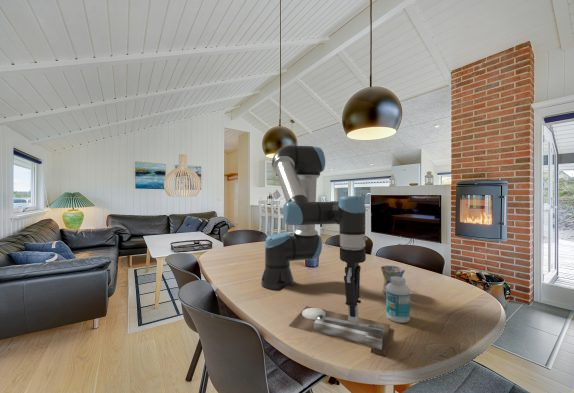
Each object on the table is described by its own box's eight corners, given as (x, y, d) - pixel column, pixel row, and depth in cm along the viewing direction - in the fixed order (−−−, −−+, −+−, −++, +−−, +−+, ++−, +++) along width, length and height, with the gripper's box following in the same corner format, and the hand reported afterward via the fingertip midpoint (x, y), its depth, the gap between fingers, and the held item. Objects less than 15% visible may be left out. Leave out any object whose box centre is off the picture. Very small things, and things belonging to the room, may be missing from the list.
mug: (406, 299, 97) (406, 273, 97) (381, 296, 100) (381, 270, 100) (402, 288, 108) (402, 264, 108) (380, 286, 111) (380, 263, 111)
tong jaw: (315, 325, 74) (315, 317, 74) (317, 321, 77) (317, 313, 77) (383, 338, 67) (383, 329, 67) (383, 333, 70) (383, 324, 70)
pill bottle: (382, 313, 86) (382, 274, 86) (402, 312, 86) (402, 274, 86) (393, 324, 78) (393, 282, 78) (415, 323, 79) (414, 281, 79)
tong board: (288, 329, 75) (288, 318, 75) (306, 309, 88) (306, 299, 88) (385, 356, 62) (385, 342, 62) (389, 328, 76) (389, 316, 76)
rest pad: (298, 316, 81) (298, 315, 81) (307, 307, 88) (307, 306, 88) (321, 322, 77) (321, 321, 77) (328, 311, 84) (328, 310, 84)
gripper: (361, 253, 65) (362, 340, 66) (368, 244, 77) (369, 318, 77) (334, 250, 69) (335, 333, 69) (344, 242, 80) (345, 313, 81)
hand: (353, 325), depth 73 cm, fingers closed
